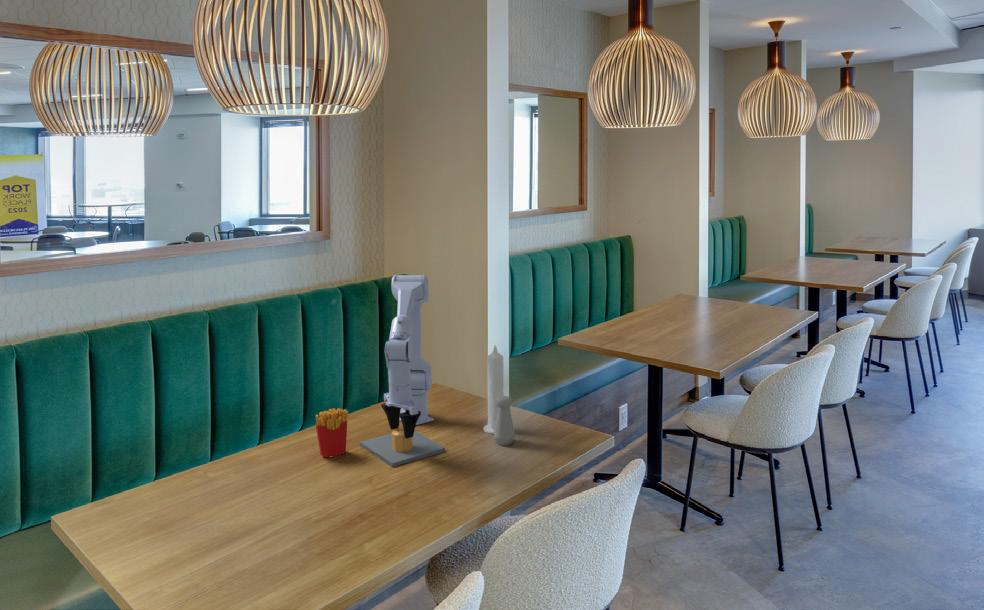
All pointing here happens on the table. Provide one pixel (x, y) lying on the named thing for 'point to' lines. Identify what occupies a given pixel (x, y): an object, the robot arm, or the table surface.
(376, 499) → the table surface
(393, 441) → the cap
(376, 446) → the board
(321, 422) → the french fries
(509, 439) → the salt shaker
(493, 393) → the candle
